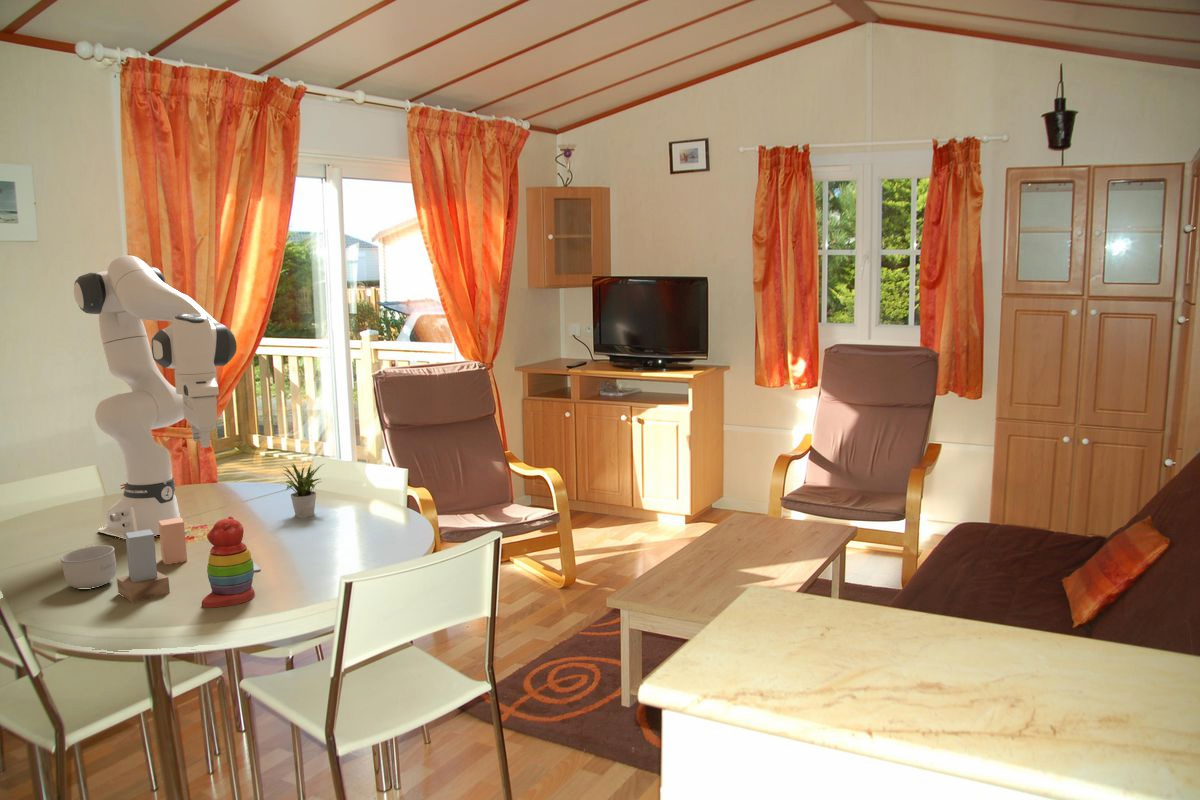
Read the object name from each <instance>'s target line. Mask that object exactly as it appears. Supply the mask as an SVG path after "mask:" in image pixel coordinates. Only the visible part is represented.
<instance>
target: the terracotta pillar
mask: <svg viewBox="0 0 1200 800" xmlns="http://www.w3.org/2000/svg"><path fill="white" fill-rule="evenodd" d="M181 518H182V517H180V518H174V519H167V520H161V521H158V523H159V533H160V536H159V541H160V542H159V543H160V551H161V552H160V553H161V554H160V555H161V561H162V560H163V561H162V563H163V564H164V563H165V564H169V565H172V564H171V563H175V564H179V563H178V562H181V563H185V562H184V561H186V562H188V556H187V555H188V554H187V553H188V552H187V545H186V544H187V543H186V541H187V540H186V533H185V532H186V529H185V522H184V519H183V518H182V519H183V520H182V519H181ZM165 564H164V565H165Z"/></svg>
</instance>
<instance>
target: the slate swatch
mask: <svg viewBox="0 0 1200 800" xmlns="http://www.w3.org/2000/svg"><path fill="white" fill-rule="evenodd" d="M253 565H254V567H253V568H254V573H257V572H261V568H260V567H259V566H258V564H256V563H255V562H253Z"/></svg>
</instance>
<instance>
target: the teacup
mask: <svg viewBox="0 0 1200 800" xmlns="http://www.w3.org/2000/svg"><path fill="white" fill-rule="evenodd" d="M60 561H61V564H62V565H61V566H62V572H63V575H64V579H65V582H66V583H67V584H68V586H70V587H72V588H75V589H76V588H92V587H97V586H101V585H104V584H106V585H108V584H107V583H108V582H109V583H110V582H111V580H112V579H113V578H114V577H115V575H116V574H117V562H116V561H117V560H116V555H115V547H114V546H112V545H106V544H105V545H104V544H103V545H102V544H101V545H92V544H90V545H86V546H85V547H82V548H77V549H75V550H71V551H69V552H67V553H65V554H63V555H62V556H61V557H60ZM104 586H105V585H104Z"/></svg>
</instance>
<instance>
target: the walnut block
mask: <svg viewBox="0 0 1200 800" xmlns="http://www.w3.org/2000/svg"><path fill="white" fill-rule="evenodd" d="M116 584H117V593H120V594H121V595H123V596H124V597H125V598H127V599H128V600H127V599H126V600H127V601H128V602H130V601H131V602H130V603H132V602H133V603H137V602H141V601H143V599H145V600H148V599H152V598H155V596H156V597H160V596H164V595H167V594H170V593H171V591H170V581H169V576H167V575H166V574H164V573H161V572H159V571H158V570H157V578H155V579H149V580H144V581H138V582H132V581H131V579H130V577H129V575H125V576H122V577H117V578H116ZM163 594H164V595H163ZM121 595H120V596H121ZM159 595H160V596H159ZM124 597H123V598H124ZM151 597H152V598H151ZM125 598H124V599H125ZM140 600H141V601H140ZM136 601H137V602H136Z"/></svg>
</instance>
